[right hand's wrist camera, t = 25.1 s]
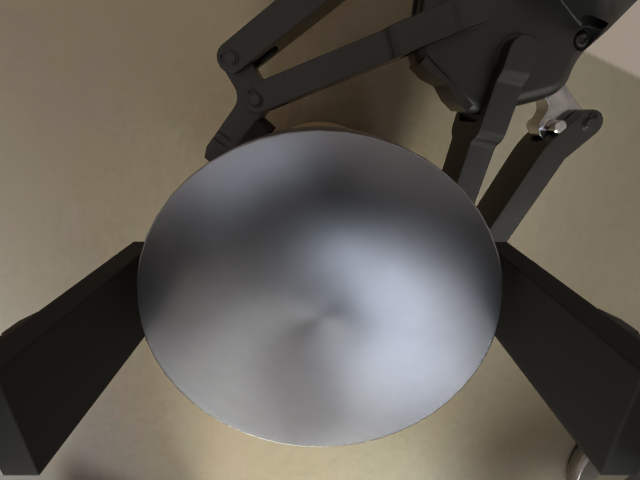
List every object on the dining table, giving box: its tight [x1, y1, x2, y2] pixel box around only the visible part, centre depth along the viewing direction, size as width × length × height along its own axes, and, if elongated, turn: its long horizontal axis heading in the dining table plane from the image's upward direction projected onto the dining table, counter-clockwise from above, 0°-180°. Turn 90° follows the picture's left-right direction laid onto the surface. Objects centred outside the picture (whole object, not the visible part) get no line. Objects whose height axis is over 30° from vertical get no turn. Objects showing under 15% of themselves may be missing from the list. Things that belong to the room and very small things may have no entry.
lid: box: [137, 126, 503, 447], centre depth 11 cm, size 11×11×2 cm
